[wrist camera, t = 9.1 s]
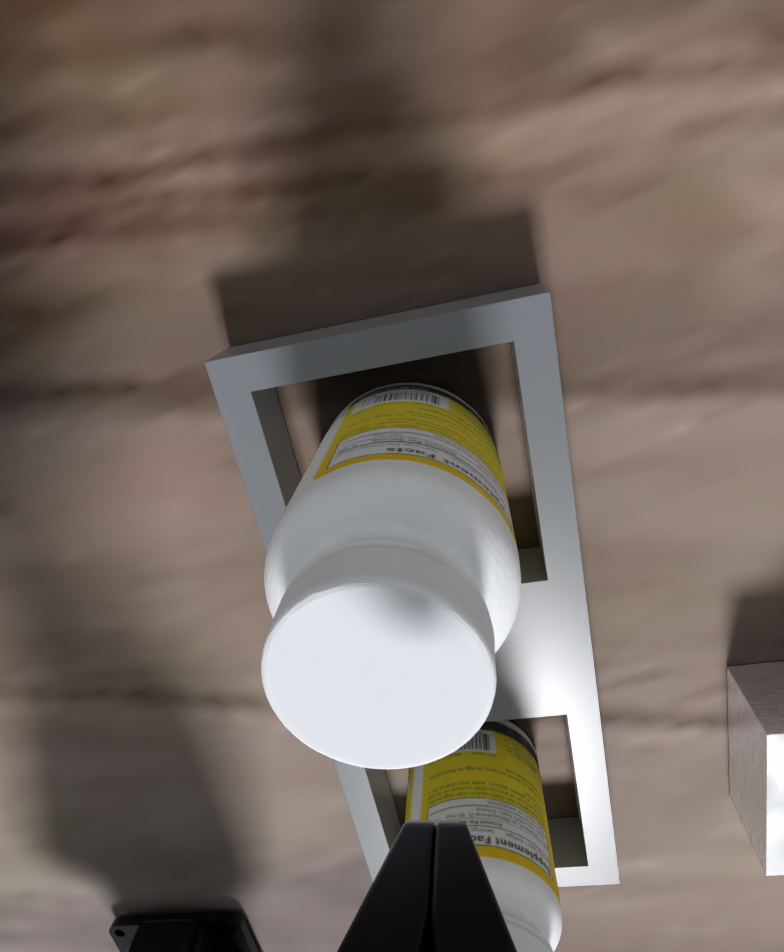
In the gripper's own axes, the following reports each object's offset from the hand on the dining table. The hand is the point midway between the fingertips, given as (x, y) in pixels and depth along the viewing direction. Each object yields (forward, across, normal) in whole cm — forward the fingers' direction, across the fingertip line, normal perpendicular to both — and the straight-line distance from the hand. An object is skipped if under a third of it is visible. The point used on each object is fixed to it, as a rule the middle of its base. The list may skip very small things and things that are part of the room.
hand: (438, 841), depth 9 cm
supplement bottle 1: (+12, +1, -1) cm, 12 cm away
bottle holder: (+12, 0, +5) cm, 13 cm away
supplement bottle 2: (+12, 0, +11) cm, 16 cm away
